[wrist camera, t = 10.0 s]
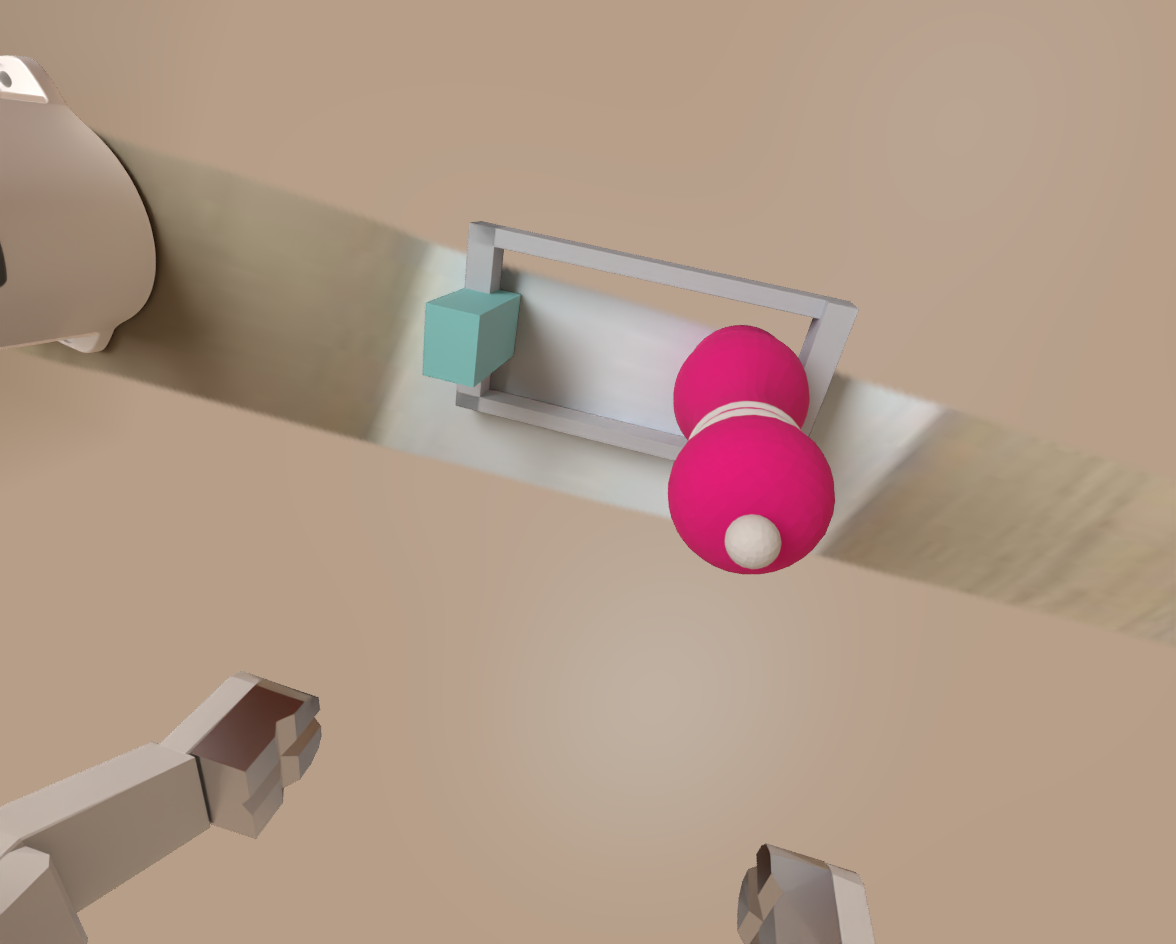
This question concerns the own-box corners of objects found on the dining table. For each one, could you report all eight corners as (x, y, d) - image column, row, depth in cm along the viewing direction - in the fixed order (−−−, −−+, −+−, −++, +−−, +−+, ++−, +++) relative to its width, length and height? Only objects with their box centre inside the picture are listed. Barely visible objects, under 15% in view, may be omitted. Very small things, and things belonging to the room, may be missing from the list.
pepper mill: (823, 384, 35) (929, 583, 17) (724, 450, 38) (728, 676, 20) (751, 290, 33) (787, 401, 16) (654, 367, 36) (593, 532, 19)
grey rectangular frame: (466, 397, 40) (419, 434, 34) (481, 221, 35) (429, 227, 29) (782, 476, 38) (794, 531, 32) (849, 301, 32) (879, 327, 26)
